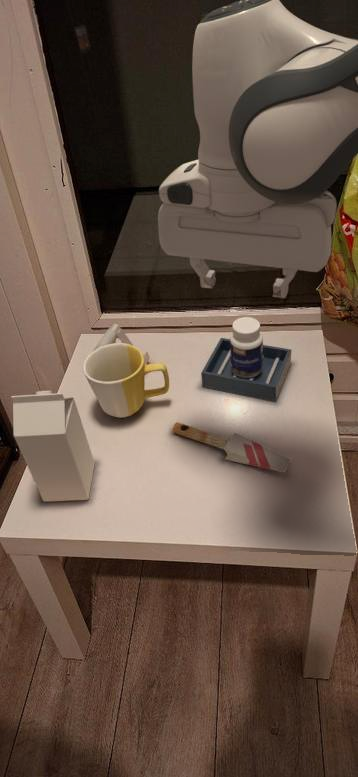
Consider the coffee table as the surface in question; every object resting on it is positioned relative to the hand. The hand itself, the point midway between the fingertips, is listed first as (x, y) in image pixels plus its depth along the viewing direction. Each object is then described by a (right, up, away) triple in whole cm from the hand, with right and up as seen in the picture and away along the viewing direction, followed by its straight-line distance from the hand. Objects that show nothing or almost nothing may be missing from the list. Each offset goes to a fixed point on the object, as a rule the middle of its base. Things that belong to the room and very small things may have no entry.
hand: (243, 290), depth 68 cm
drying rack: (+4, -10, +32) cm, 33 cm away
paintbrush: (0, -22, +19) cm, 29 cm away
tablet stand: (-19, -10, +35) cm, 41 cm away
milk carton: (-25, -27, +17) cm, 41 cm away
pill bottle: (+4, -9, +31) cm, 32 cm away
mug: (-16, -16, +28) cm, 36 cm away
